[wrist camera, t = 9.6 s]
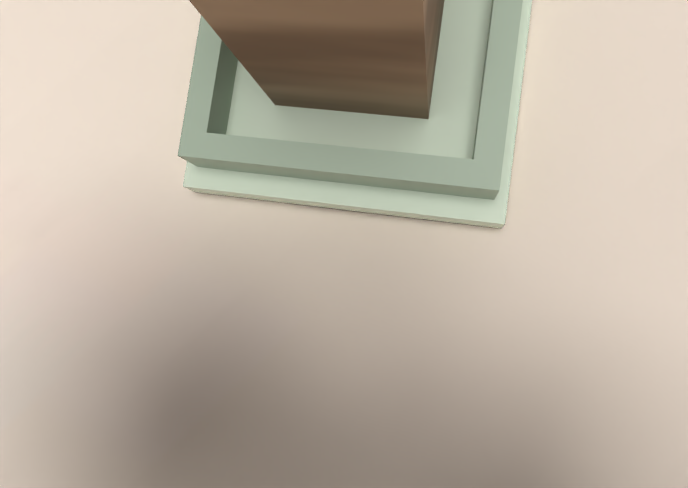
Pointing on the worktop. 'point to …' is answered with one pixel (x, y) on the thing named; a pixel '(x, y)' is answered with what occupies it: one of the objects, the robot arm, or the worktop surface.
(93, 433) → the worktop surface
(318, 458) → the worktop surface
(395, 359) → the worktop surface
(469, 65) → the tray
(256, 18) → the wooden square pillar
